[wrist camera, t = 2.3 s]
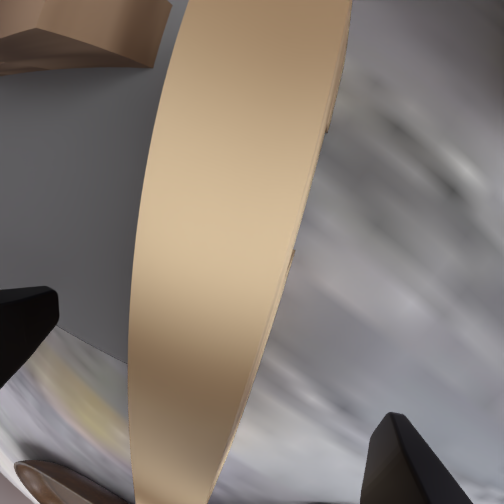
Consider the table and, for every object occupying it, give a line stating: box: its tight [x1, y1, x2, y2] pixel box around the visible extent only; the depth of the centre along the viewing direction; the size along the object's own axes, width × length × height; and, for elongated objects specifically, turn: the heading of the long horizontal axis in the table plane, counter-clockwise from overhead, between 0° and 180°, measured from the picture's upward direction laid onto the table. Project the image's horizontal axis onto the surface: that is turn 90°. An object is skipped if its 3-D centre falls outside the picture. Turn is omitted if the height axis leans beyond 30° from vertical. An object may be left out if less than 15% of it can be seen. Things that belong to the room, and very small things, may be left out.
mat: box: [0, 0, 189, 364], centre depth 10 cm, size 19×17×1 cm
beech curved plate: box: [128, 0, 352, 504], centre depth 8 cm, size 16×2×5 cm, turn 166°
